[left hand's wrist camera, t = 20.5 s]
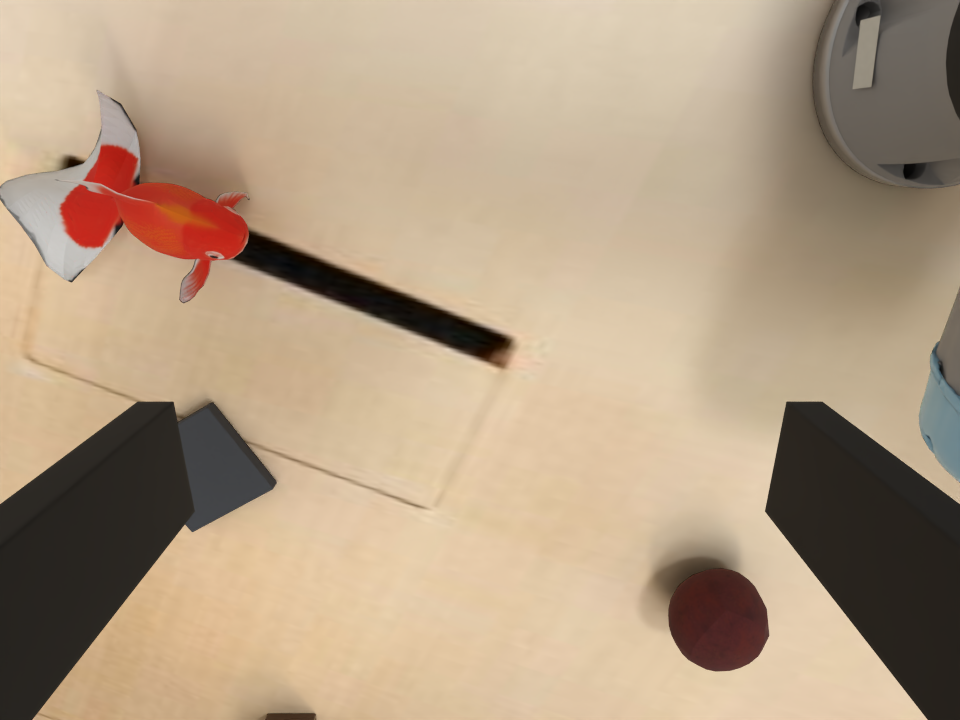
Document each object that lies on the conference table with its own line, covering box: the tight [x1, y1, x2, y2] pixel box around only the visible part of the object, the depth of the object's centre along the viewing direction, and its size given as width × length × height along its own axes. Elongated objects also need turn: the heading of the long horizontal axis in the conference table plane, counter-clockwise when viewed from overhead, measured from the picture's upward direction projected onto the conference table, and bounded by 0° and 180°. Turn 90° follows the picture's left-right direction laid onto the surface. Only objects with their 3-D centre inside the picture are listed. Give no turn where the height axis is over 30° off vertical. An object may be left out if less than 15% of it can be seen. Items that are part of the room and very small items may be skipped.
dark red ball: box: [668, 568, 769, 671], centre depth 46 cm, size 7×8×7 cm
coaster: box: [178, 403, 277, 532], centre depth 45 cm, size 8×8×1 cm
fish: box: [0, 90, 250, 303], centre depth 35 cm, size 11×16×10 cm
